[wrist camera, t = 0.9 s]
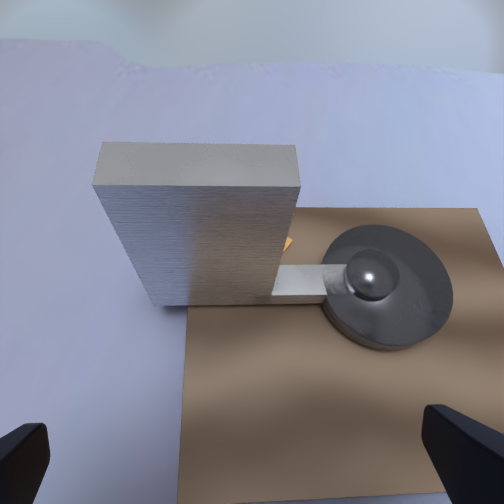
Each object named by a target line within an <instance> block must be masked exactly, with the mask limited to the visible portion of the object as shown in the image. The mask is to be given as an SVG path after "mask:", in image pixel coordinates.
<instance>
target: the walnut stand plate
mask: <svg viewBox="0 0 504 504" xmlns="http://www.w3.org/2000/svg"><path fill="white" fill-rule="evenodd" d="M372 224H375V225H385V226H390V227H394V228H397V229H400V230H403V231H405V232H407V233H409V234H411V235H413V236H415V237H416V238H418V239H419V240H421V241H422V242H423V243H425V244H426V245H427V246H428V247H429V248H430V249H431V250H432V251H433V252H434V253H435V254H436V255H437V256H438V258H439V259H440V260H441V262H442V263H443V265H444V267H445V268H446V270H447V272H448V275H449V277H450V280H451V284H452V289H453V306H452V310H451V313H450V316H449V318H448V320H447V322H446V323H445V324H444V326H443V327H442V328H441V329H440V330H439V331H438V332H437V333H436V334H434V335H432V336H431V337H429V338H428V339H426V340H424V341H422V342H421V343H419V344H417V345H415V346H413V347H410V348H408V349H404V350H398V351H382V350H377V349H373V348H369V347H366V346H364V345H361V344H359V343H357V342H355V341H354V340H352V339H350V338H349V337H347V336H346V335H345V334H343V333H342V332H341V331H340V330H339V329H338V328H337V327H336V326H335V325H334V324H333V323H332V322H331V320H330V319H329V318H328V316H327V315H326V313H325V311H324V309H323V307H322V305H321V303H311V304H245V305H188V313H187V331H186V349H185V367H184V385H183V403H182V421H181V439H180V457H179V475H178V492H177V504H235V503H253V502H271V501H290V500H308V499H326V498H344V497H363V496H381V495H399V494H417V493H436V492H446V490H445V488H444V486H443V484H442V482H441V480H440V478H439V476H438V474H437V472H436V470H435V468H434V466H433V464H432V461H431V459H430V457H429V455H428V453H427V451H426V449H425V447H424V445H423V442H422V438H421V430H422V421H423V413H424V408H425V406H427V405H430V404H444V405H446V406H448V407H450V408H452V409H454V410H456V411H458V412H460V413H462V414H464V415H466V416H468V417H470V418H472V419H474V420H476V421H478V422H480V423H482V424H484V425H486V426H488V427H490V428H492V429H494V430H496V431H498V432H500V433H503V434H504V267H503V265H502V263H501V261H500V259H499V256H498V254H497V252H496V250H495V247H494V245H493V243H492V241H491V238H490V236H489V234H488V232H487V229H486V227H485V225H484V223H483V220H482V218H481V216H480V214H479V211H478V209H477V208H304V207H295V210H294V214H293V218H292V221H291V225H290V229H289V232H288V236H287V237H289V238H291V239H292V240H293V241H292V243H291V244H290V246H289V247H288V248H287V249H286V251H285V252H284V253H283V254H282V258H281V262H280V265H320V264H321V261H322V259H323V257H324V255H325V253H326V251H327V249H328V248H329V246H330V244H331V243H332V242H333V241H334V240H335V239H336V238H337V237H338V236H339V235H340V234H342V233H343V232H345V231H347V230H349V229H351V228H354V227H357V226H362V225H372Z"/></svg>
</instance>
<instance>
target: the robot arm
mask: <svg viewBox="0 0 504 504" xmlns="http://www.w3.org/2000/svg"><path fill="white" fill-rule="evenodd" d="M421 438H422V442H423V445H424V447H425V449H426V451H427V453H428V455H429V457H430V459H431V461H432V464H433V466H434V468H435V470H436V472H437V474H438V476H439V478H440V480H441V482H442V484H443V486H444V488H445V490H446V492H447V494H448V496H449V498H450V500H451V502H452V504H504V434H503V433H500V432H498V431H496V430H494V429H492V428H490V427H488V426H486V425H484V424H482V423H480V422H478V421H476V420H474V419H472V418H470V417H468V416H466V415H464V414H462V413H460V412H458V411H456V410H454V409H452V408H450V407H448V406H446V405H444V404H430V405H427V406H425V408H424V413H423V421H422V430H421ZM49 461H50V448H49V440H48V433H47V427H46V425H45V424H44V423H26V424H23V425H22V426H20V427H18V428H17V429H15V430H13V431H12V432H10V433H8V434H7V435H5V436H3V437H2V438H0V504H33V502H34V499H35V497H36V494H37V492H38V490H39V487H40V485H41V482H42V480H43V477H44V475H45V472H46V470H47V467H48V465H49Z"/></svg>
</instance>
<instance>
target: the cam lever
mask: <svg viewBox="0 0 504 504" xmlns="http://www.w3.org/2000/svg"><path fill="white" fill-rule="evenodd" d="M92 186H93V188H94V190H95V192H96V194H97V196H98V198H99V200H100V202H101V204H102V206H103V208H104V210H105V212H106V214H107V216H108V217H109V219H110V221H111V223H112V225H113V227H114V229H115V231H116V233H117V235H118V237H119V239H120V241H121V243H122V245H123V247H124V249H125V251H126V253H127V255H128V257H129V259H130V260H131V262H132V264H133V266H134V268H135V270H136V272H137V274H138V276H139V278H140V280H141V282H142V284H143V286H144V288H145V290H146V292H147V294H148V296H149V298H150V300H151V302H152V303H153V305H154V306H178V305H245V304H311V303H321V305H322V307H323V309H324V311H325V313H326V315H327V316H328V318H329V319H330V320H331V322H332V323H333V324H334V325H335V326H336V327H337V328H338V329H339V330H340V331H341V332H342V333H343V334H345V335H346V336H347V337H349V338H350V339H352V340H354V341H355V342H357V343H359V344H361V345H364V346H366V347H369V348H373V349H377V350H382V351H398V350H404V349H408V348H410V347H413V346H415V345H417V344H419V343H421V342H422V341H424V340H426V339H428V338H429V337H431V336H432V335H434V334H436V333H437V332H438V331H439V330H440V329H441V328H442V327H443V326H444V324H445V323H446V322H447V320H448V318H449V316H450V313H451V310H452V306H453V289H452V284H451V280H450V277H449V275H448V272H447V270H446V268H445V267H444V265H443V263H442V262H441V260H440V259H439V258H438V256H437V255H436V254H435V253H434V252H433V251H432V250H431V249H430V248H429V247H428V246H427V245H426V244H425V243H423V242H422V241H421V240H419V239H418V238H416V237H415V236H413V235H411V234H409V233H407V232H405V231H403V230H400V229H397V228H394V227H390V226H385V225H375V224H372V225H362V226H357V227H354V228H351V229H349V230H347V231H345V232H343V233H342V234H340V235H339V236H338V237H337V238H336V239H335V240H334V241H333V242H332V243H331V244H330V246H329V248H328V249H327V251H326V253H325V255H324V257H323V259H322V261H321V264H320V265H280V262H281V258H282V254H283V251H284V247H285V243H286V240H287V236H288V232H289V229H290V225H291V221H292V218H293V214H294V210H295V206H296V203H297V199H298V195H299V192H300V188H301V184H300V177H299V169H298V162H297V155H296V148H295V145H258V144H199V143H140V142H102V145H101V149H100V153H99V158H98V162H97V166H96V170H95V174H94V178H93V182H92Z"/></svg>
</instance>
